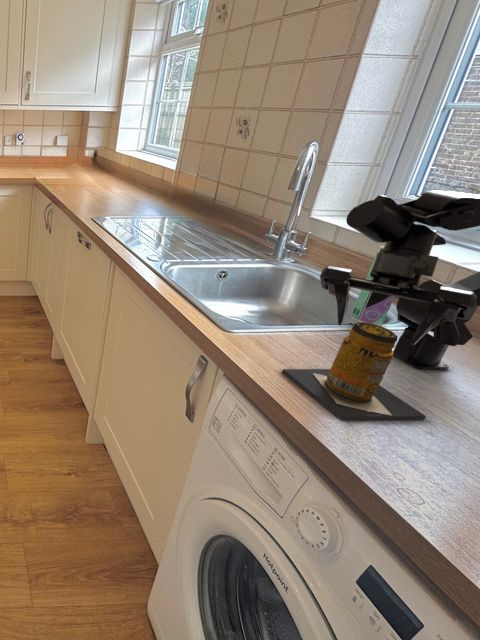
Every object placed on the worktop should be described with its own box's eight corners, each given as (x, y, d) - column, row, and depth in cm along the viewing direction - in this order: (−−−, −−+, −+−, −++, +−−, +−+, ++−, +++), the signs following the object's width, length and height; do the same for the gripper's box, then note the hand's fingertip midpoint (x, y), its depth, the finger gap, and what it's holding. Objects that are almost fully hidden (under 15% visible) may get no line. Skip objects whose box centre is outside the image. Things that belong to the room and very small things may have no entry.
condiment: (361, 383, 71) (389, 323, 67) (391, 416, 64) (425, 351, 59) (312, 374, 73) (336, 315, 69) (335, 405, 66) (364, 341, 61)
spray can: (373, 328, 91) (411, 244, 84) (344, 317, 96) (378, 236, 89) (386, 324, 93) (424, 242, 86) (357, 313, 98) (391, 234, 91)
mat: (353, 372, 76) (354, 368, 75) (424, 419, 64) (426, 415, 64) (281, 372, 75) (282, 369, 74) (340, 420, 63) (342, 416, 63)
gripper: (333, 224, 75) (302, 299, 72) (496, 244, 60) (463, 338, 58) (337, 252, 82) (308, 321, 79) (483, 276, 67) (454, 361, 65)
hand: (374, 333), depth 70 cm, fingers open, 9 cm apart
